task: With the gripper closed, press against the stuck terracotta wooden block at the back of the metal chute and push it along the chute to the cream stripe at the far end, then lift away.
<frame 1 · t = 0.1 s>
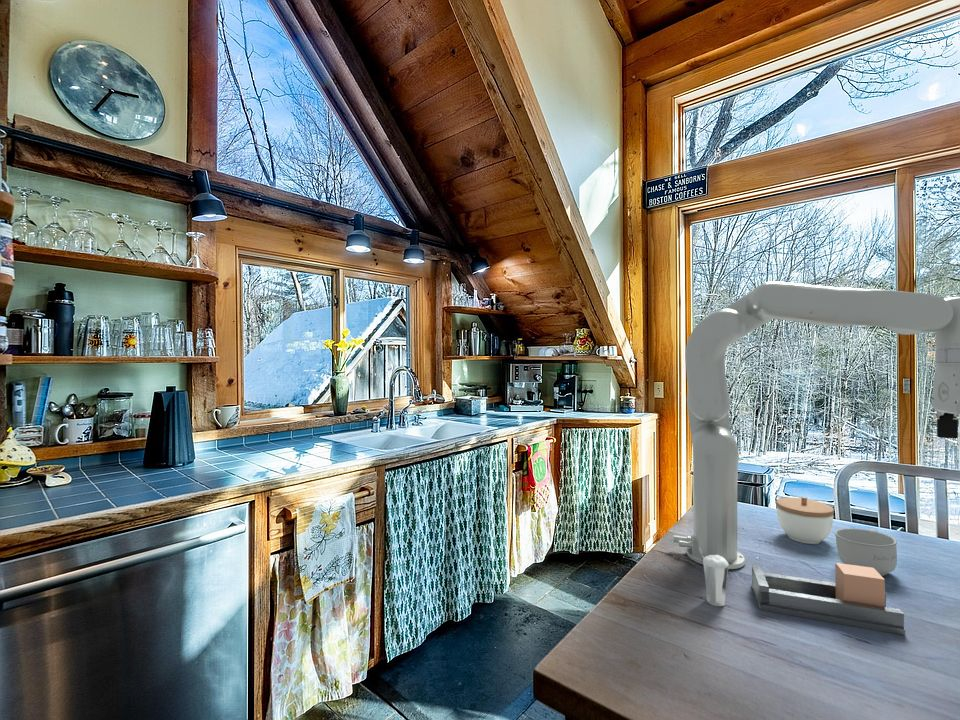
milkshake: (713, 602, 92), on the table
chute: (820, 608, 90), on the table
lidded bowl: (804, 539, 123), on the table
teacup: (868, 569, 106), on the table
block: (859, 589, 87), point 5 cm above the table, slide at 0.0 cm
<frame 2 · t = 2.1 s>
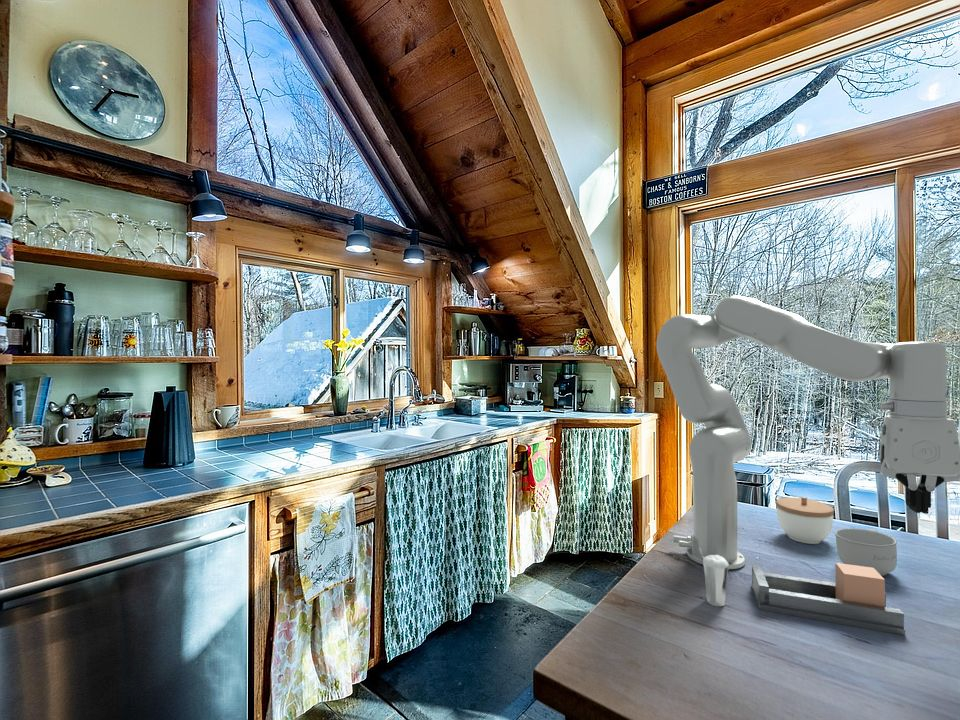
hand: (918, 510, 84), 21 cm above the table, tool pointing down, fingers closed
nothing on the table moved.
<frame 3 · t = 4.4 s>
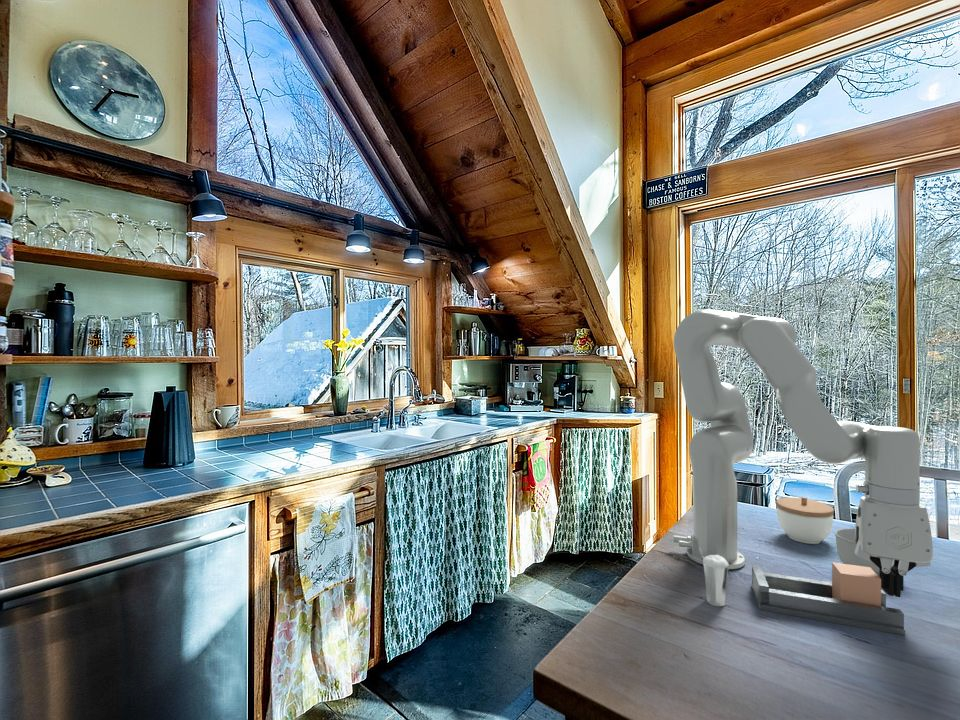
hand: (891, 592, 85), 5 cm above the table, tool pointing down, fingers closed
block: (855, 588, 87), point 5 cm above the table, slide at 0.5 cm, touching gripper
everything else where it was.
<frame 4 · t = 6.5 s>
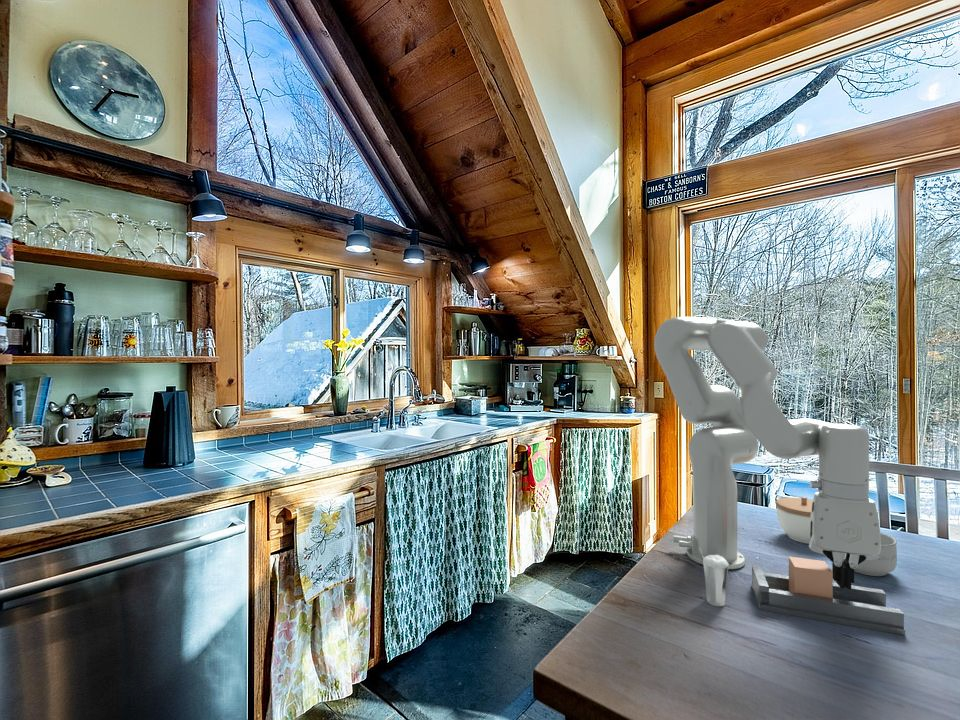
hand: (843, 585, 88), 5 cm above the table, tool pointing down, fingers closed
block: (809, 581, 90), point 5 cm above the table, slide at 7.8 cm, touching gripper
everything else where it was.
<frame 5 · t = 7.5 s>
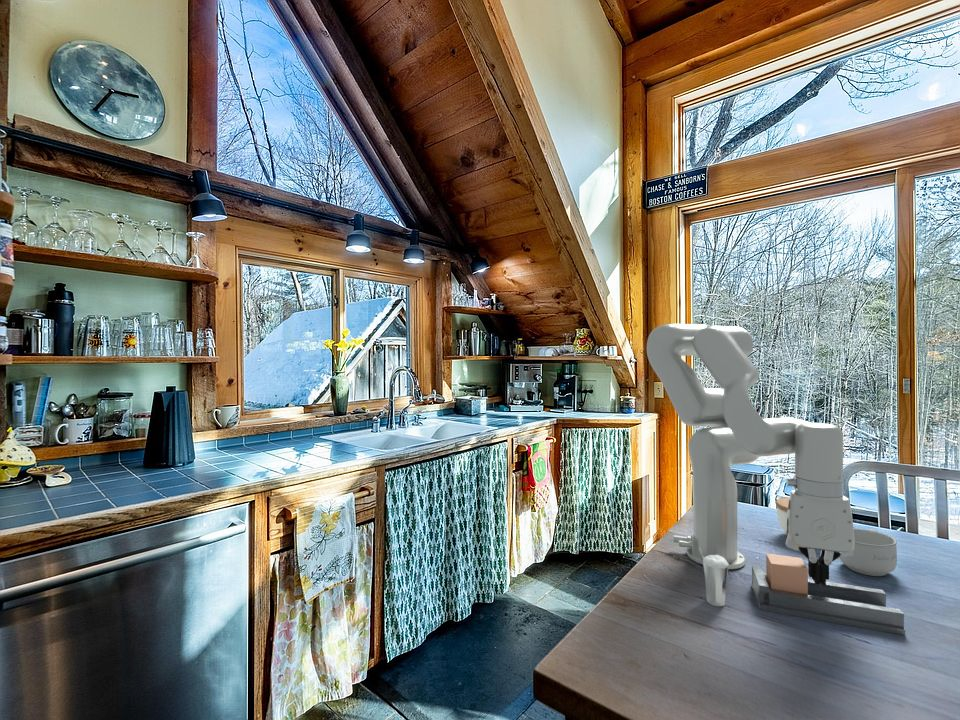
hand: (818, 581, 90), 5 cm above the table, tool pointing down, fingers closed
block: (786, 578, 92), point 5 cm above the table, slide at 11.7 cm, touching gripper
everything else where it was.
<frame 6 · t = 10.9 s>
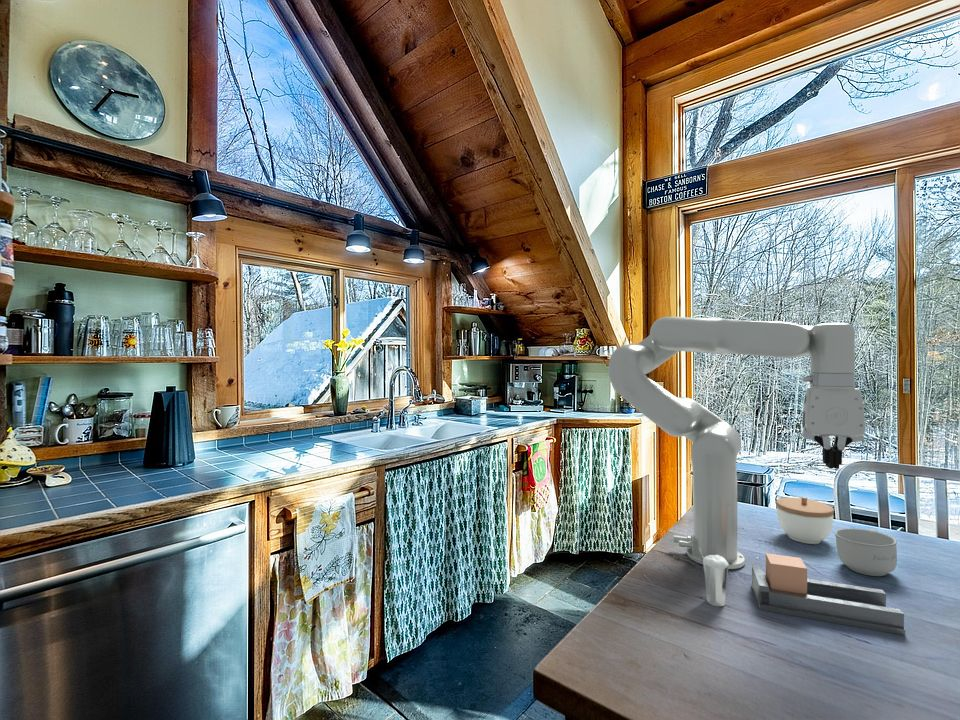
hand: (832, 467, 99), 25 cm above the table, tool pointing down, fingers closed
block: (785, 578, 92), point 5 cm above the table, slide at 11.8 cm
everything else where it was.
at the end: block slide at 11.8 cm; teacup moved 0.3 cm from its start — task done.
